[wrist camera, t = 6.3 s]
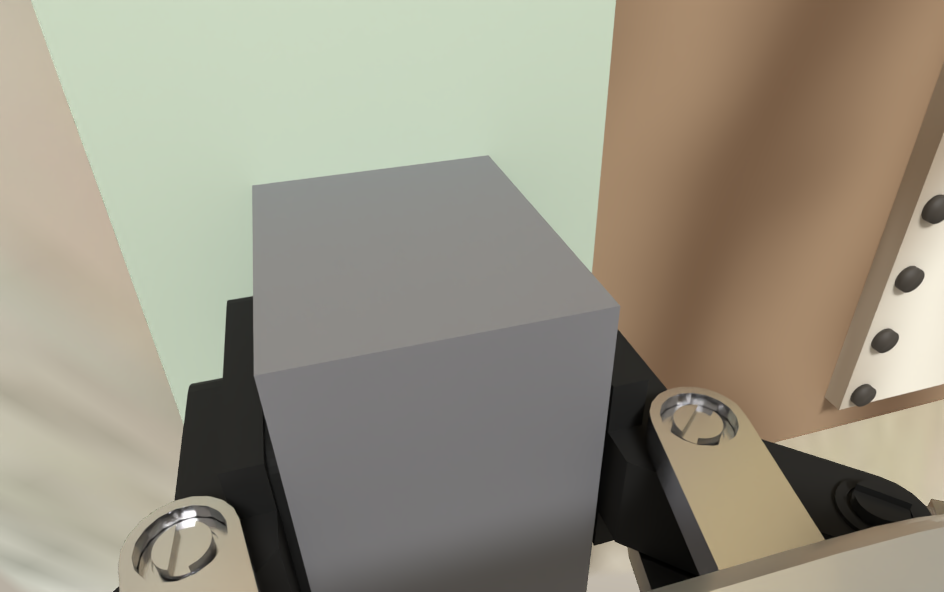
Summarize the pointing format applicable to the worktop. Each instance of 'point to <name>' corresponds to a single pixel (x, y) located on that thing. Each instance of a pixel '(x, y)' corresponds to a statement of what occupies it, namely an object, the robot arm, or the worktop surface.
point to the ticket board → (779, 203)
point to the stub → (375, 258)
